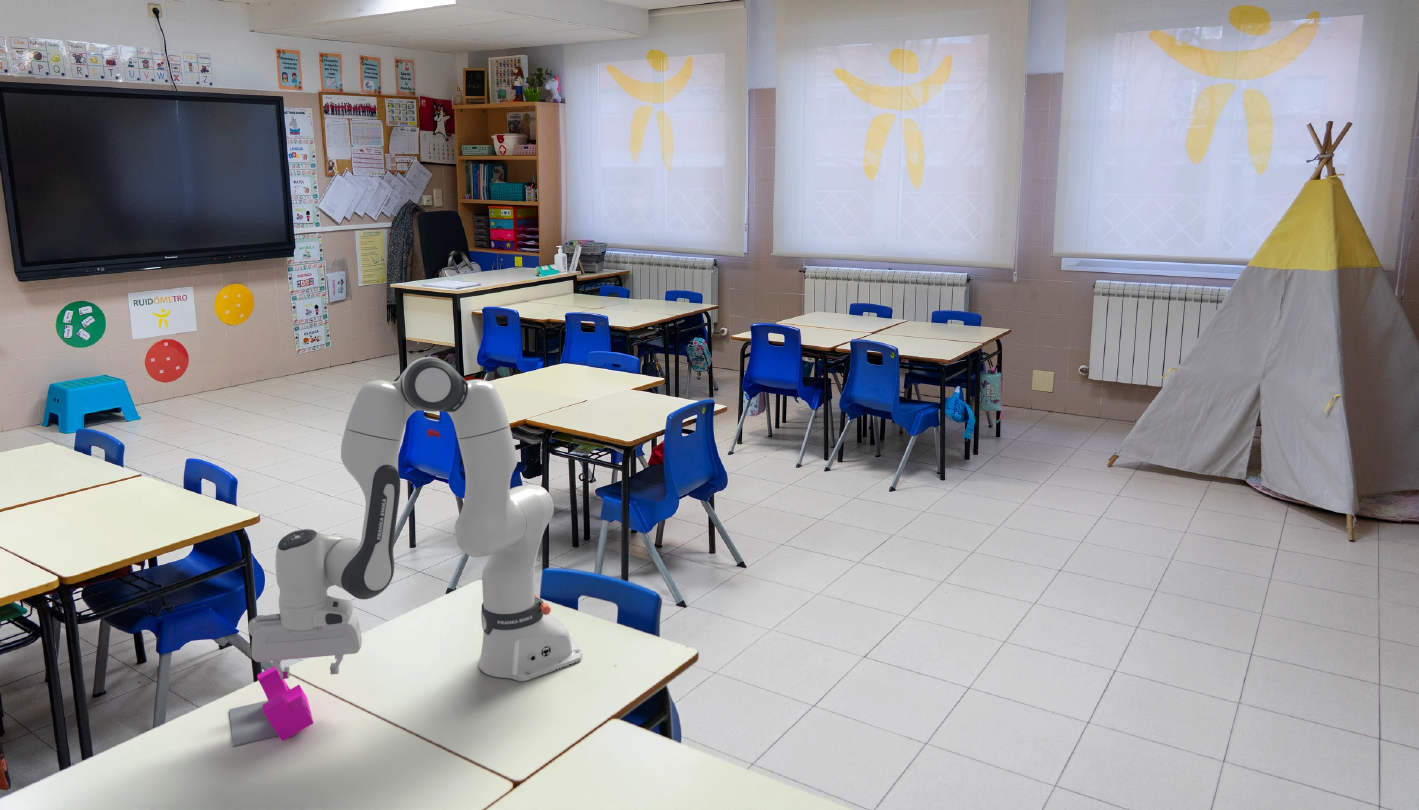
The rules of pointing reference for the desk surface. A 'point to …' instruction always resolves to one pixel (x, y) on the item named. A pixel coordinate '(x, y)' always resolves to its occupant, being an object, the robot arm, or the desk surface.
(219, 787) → the desk surface
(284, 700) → the magenta notched part
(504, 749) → the desk surface
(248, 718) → the mat
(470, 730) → the desk surface
